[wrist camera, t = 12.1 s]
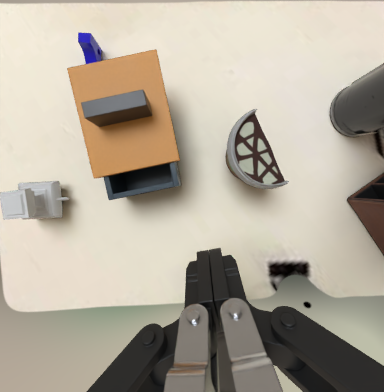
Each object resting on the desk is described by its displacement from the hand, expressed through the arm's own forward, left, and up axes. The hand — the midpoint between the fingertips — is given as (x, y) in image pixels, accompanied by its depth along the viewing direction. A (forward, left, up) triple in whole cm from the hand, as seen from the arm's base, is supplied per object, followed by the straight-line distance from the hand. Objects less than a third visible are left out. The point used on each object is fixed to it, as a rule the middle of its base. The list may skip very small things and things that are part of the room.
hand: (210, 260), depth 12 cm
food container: (-11, +3, -26) cm, 29 cm away
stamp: (+12, -25, -26) cm, 38 cm away
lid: (-8, -17, -18) cm, 26 cm away
